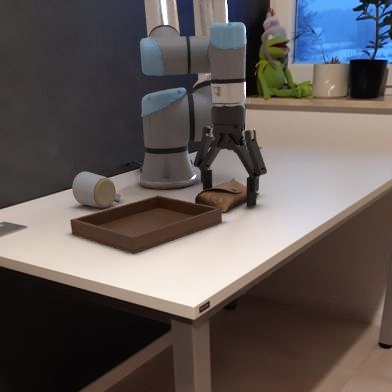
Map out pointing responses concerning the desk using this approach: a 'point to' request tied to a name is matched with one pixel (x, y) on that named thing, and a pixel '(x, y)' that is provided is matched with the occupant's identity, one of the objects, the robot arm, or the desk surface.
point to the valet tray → (145, 223)
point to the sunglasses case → (223, 195)
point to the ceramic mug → (94, 190)
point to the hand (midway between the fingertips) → (228, 201)
